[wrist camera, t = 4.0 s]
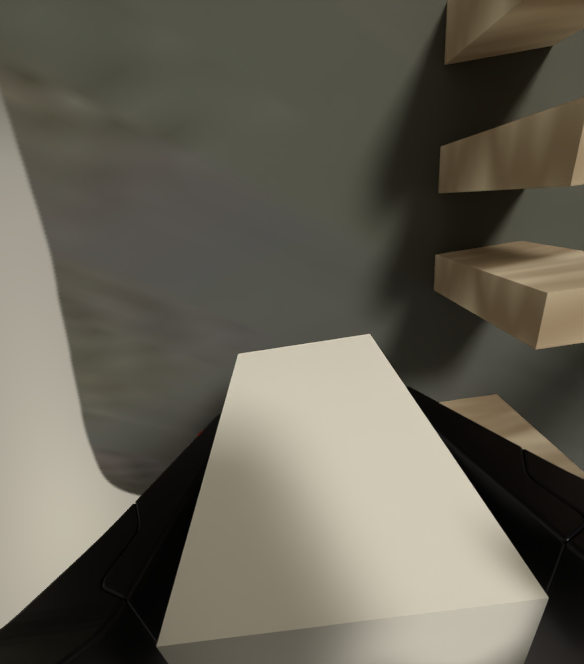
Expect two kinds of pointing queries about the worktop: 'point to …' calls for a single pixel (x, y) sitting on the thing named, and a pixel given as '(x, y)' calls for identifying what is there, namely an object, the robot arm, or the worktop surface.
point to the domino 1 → (341, 529)
